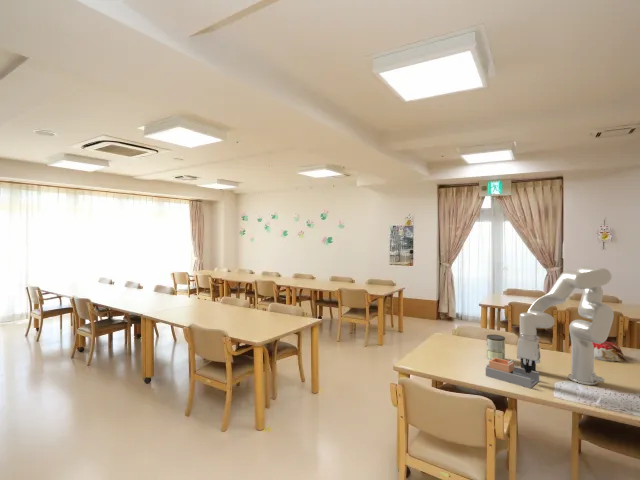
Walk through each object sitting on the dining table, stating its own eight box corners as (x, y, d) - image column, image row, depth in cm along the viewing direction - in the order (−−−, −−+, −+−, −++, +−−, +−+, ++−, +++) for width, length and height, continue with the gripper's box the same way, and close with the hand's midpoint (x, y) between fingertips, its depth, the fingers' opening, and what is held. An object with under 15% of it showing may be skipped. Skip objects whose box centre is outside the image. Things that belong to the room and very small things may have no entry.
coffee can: (484, 356, 224) (484, 334, 224) (501, 356, 223) (501, 334, 223) (490, 361, 214) (490, 338, 214) (508, 362, 213) (508, 339, 213)
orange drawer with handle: (514, 373, 190) (514, 359, 190) (509, 378, 185) (509, 362, 185) (495, 368, 198) (495, 354, 198) (489, 372, 192) (489, 358, 192)
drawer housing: (539, 381, 185) (539, 370, 185) (530, 388, 176) (530, 377, 176) (495, 369, 201) (495, 359, 201) (485, 375, 192) (485, 365, 192)
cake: (632, 365, 208) (632, 348, 207) (581, 358, 220) (581, 342, 220) (624, 354, 227) (624, 339, 227) (577, 348, 240) (577, 333, 240)
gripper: (546, 338, 180) (547, 374, 180) (515, 332, 191) (515, 366, 191) (541, 341, 175) (542, 378, 175) (509, 335, 186) (510, 370, 186)
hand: (528, 372), depth 183 cm, fingers closed
